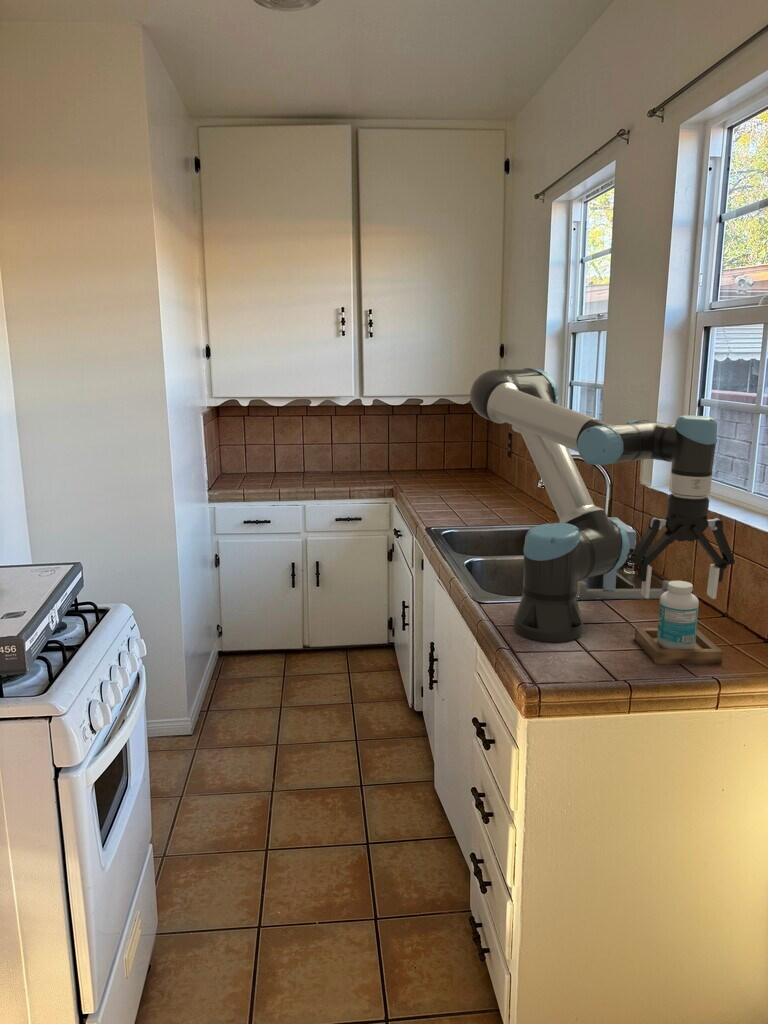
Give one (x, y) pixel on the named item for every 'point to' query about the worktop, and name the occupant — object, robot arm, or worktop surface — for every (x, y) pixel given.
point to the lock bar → (610, 577)
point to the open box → (698, 655)
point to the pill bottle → (678, 617)
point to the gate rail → (618, 592)
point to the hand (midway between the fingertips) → (678, 596)
